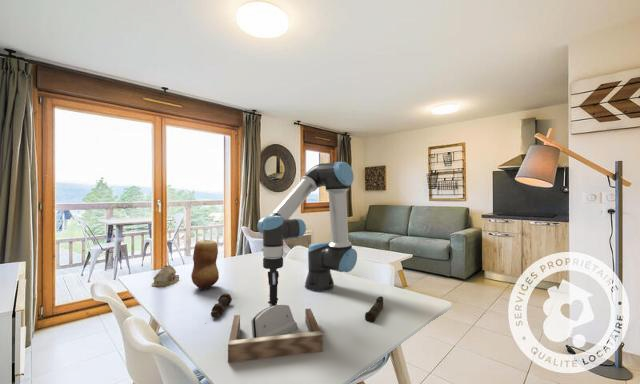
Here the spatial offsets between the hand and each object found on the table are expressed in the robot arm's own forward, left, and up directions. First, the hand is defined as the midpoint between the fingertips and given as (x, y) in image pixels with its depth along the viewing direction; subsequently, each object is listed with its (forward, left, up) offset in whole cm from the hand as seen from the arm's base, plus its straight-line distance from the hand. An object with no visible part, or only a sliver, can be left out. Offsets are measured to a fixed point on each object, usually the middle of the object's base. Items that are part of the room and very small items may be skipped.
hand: (273, 319), depth 107 cm
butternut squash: (+33, -49, -2) cm, 59 cm away
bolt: (+21, -16, -2) cm, 27 cm away
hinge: (0, +8, -2) cm, 8 cm away
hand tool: (-41, 0, -2) cm, 41 cm away
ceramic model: (+56, -64, -2) cm, 85 cm away
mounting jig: (0, +12, -1) cm, 12 cm away
